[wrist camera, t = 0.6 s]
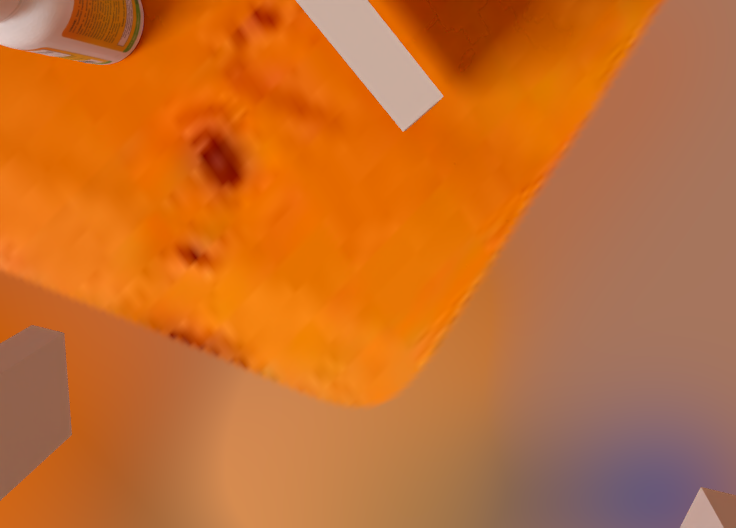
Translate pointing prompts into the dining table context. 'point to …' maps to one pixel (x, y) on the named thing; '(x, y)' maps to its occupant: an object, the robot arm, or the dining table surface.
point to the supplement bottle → (73, 28)
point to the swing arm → (375, 57)
